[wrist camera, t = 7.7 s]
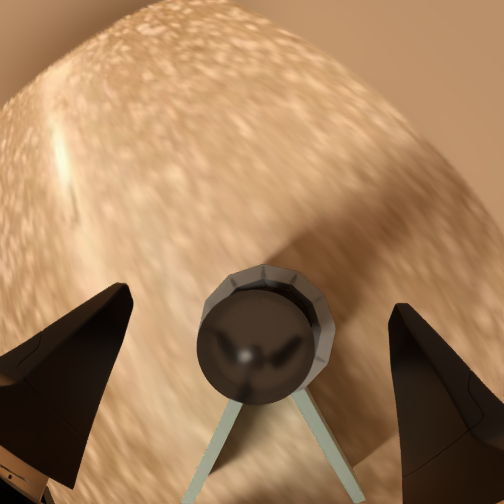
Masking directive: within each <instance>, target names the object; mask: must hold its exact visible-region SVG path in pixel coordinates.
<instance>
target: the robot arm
mask: <svg viewBox="0 0 504 504" xmlns="http://www.w3.org/2000/svg"><path fill="white" fill-rule="evenodd" d="M132 309H133V299H132V296H131V293H130V290H129V287H128V285H127V284H126V283H119V282H117V283H114V284H113V285H111V286H110V287H108V288H106V289H105V290H103V291H102V292H100V293H99V294H97V295H95V296H94V297H92V298H91V299H89V300H88V301H86V302H85V303H83V304H81V305H80V306H78V307H77V308H75V309H74V310H72V311H71V312H69V313H68V314H66V315H65V316H63V317H62V318H60V319H58V320H57V321H55V322H54V323H52V324H51V325H49V326H48V327H47V328H45V329H44V330H43V331H40V332H39V333H38V334H36V335H35V336H33V337H32V338H30V339H29V340H27V341H26V342H24V343H22V344H21V345H19V346H17V347H16V348H14V349H12V350H11V351H9V352H7V353H6V354H4V355H2V356H0V504H55V503H54V501H53V498H52V496H51V493H50V491H49V488H48V486H46V485H47V482H48V479H49V477H50V478H51V479H53V480H55V481H57V482H59V483H61V484H62V485H64V486H66V487H68V488H70V489H72V490H73V488H74V485H75V482H76V478H77V474H78V471H79V467H80V464H81V460H82V457H83V454H84V450H85V447H86V444H87V440H88V437H89V434H90V431H91V428H92V425H93V422H94V419H95V416H96V413H97V410H98V407H99V404H100V401H101V398H102V396H103V393H104V390H105V387H106V385H107V382H108V379H109V376H110V374H111V371H112V369H113V366H114V363H115V361H116V358H117V356H118V353H119V351H120V348H121V346H122V343H123V340H124V336H125V333H126V329H127V326H128V323H129V319H130V316H131V313H132ZM388 332H389V346H390V363H391V373H392V379H393V386H394V393H395V400H396V408H397V417H398V426H399V437H400V449H401V464H402V494H403V504H504V404H503V403H502V402H501V401H500V400H499V399H498V398H497V397H496V396H495V395H494V394H493V393H492V392H491V391H490V390H489V389H488V388H487V387H486V385H485V384H484V383H483V382H482V381H481V380H480V379H479V378H478V377H477V376H476V374H475V373H474V372H473V371H472V370H471V371H470V368H469V367H468V366H467V364H466V363H465V362H464V361H463V360H462V359H461V358H460V357H459V356H458V355H457V353H456V352H455V351H454V350H453V349H452V348H451V347H450V346H449V345H448V344H447V343H446V342H445V341H444V339H443V338H442V337H441V336H440V335H439V334H438V333H437V332H436V331H435V330H434V329H433V328H432V327H431V326H430V325H429V324H428V323H427V322H426V321H425V320H424V319H423V318H422V317H421V316H420V315H419V314H418V313H417V312H416V311H415V310H414V309H413V308H412V307H411V306H410V305H409V304H408V303H396V304H395V306H394V309H393V311H392V314H391V316H390V319H389V322H388Z"/></svg>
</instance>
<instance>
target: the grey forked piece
mask: <svg viewBox="0 0 504 504" xmlns="http://www.w3.org/2000/svg"><path fill="white" fill-rule="evenodd" d="M267 286H270V287H275V288H279V289H284V290H289V291H291V292H292V293H293V294H294V295H295V296H296V297H297V298H298V299H300V300H301V301H302V302H303V303H304V304H305V305H306V307H307V310H308V313H309V316H310V319H311V322H312V325H313V327H312V331H313V335H314V341H315V355H314V361H313V364H312V367H311V370H310V372H309V374H308V376H307V377H306V379H305V380H304V382H303V383H302V384H301V385H300V387H299V388H297V389H296V390H295V391H294V392H293V393H291V395H292V397H293V399H294V401H295V402H296V404H297V406H298V408H299V410H300V411H301V413H302V415H303V417H304V419H305V420H306V422H307V424H308V426H309V427H310V429H311V431H312V433H313V434H314V436H315V438H316V440H317V441H318V443H319V445H320V447H321V448H322V450H323V452H324V454H325V455H326V457H327V459H328V460H329V462H330V464H331V466H332V467H333V469H334V471H335V472H336V474H337V476H338V477H339V479H340V481H341V482H342V484H343V486H344V487H345V489H346V491H347V492H348V494H349V496H350V497H351V499H352V501H353V502H354V504H358V503H360V502H362V501H364V500H366V498H365V496H364V494H363V492H362V489H361V487H360V485H359V483H358V480H357V478H356V476H355V474H354V471H353V469H352V467H351V465H350V464H349V462H348V460H347V458H346V456H345V455H344V453H343V451H342V449H341V447H340V446H339V444H338V442H337V440H336V438H335V437H334V435H333V433H332V431H331V429H330V428H329V426H328V424H327V422H326V420H325V418H324V417H323V415H322V413H321V411H320V409H319V408H318V406H317V404H316V402H315V400H314V398H313V396H312V395H311V393H310V391H309V389H308V387H307V385H308V384H309V383H310V382H311V381H312V380H313V379H314V378H315V377H316V376H317V375H318V374H319V373H320V372H321V370H322V369H323V368H324V367H325V366H326V365H327V364H328V361H329V357H330V353H331V349H332V344H333V340H334V335H335V331H336V329H335V328H336V327H335V324H334V321H333V318H332V315H331V312H330V309H329V306H328V303H327V299H326V296H325V294H324V293H322V292H321V291H320V290H319V289H318V288H317V287H316V286H314V285H313V284H312V283H311V282H310V281H309V280H308V279H306V278H305V277H304V276H303V275H302V274H301V273H300V272H299V271H295V270H290V269H285V268H280V267H275V266H270V265H265V264H261V265H258V266H255V267H252V268H249V269H246V270H243V271H240V272H237V273H234V274H231V275H229V276H228V277H227V278H226V279H225V280H224V281H223V282H222V283H221V284H220V285H219V287H218V288H217V289H216V290H215V291H214V292H213V293H212V294H211V295H210V296H209V297H208V299H207V300H206V301H205V304H204V309H203V313H202V318H201V322H200V327H201V324H202V322H203V320H204V318H205V317H206V315H207V314H208V313H209V311H210V310H211V309H212V308H213V307H214V306H215V305H216V304H217V303H218V302H220V301H221V300H223V299H224V298H226V297H228V296H230V295H232V294H235V293H237V292H241V291H247V290H257V289H260V288H263V287H267ZM200 327H199V329H200ZM198 333H199V331H198ZM242 404H243V403H240V402H236V401H234V400H231V399H230V400H229V402H228V404H227V406H226V408H225V411H224V413H223V415H222V417H221V419H220V422H219V424H218V426H217V428H216V430H215V432H214V435H213V437H212V439H211V441H210V443H209V445H208V447H207V449H206V452H205V454H204V456H203V458H202V460H201V462H200V464H199V466H198V468H197V470H196V472H195V474H194V476H193V479H192V481H191V483H190V485H189V487H188V489H187V491H186V493H185V495H184V497H183V499H182V501H181V503H182V504H193V503H194V501H195V499H196V498H197V496H198V494H199V492H200V490H201V488H202V486H203V484H204V482H205V480H206V478H207V476H208V475H209V473H210V471H211V469H212V467H213V465H214V463H215V461H216V459H217V457H218V455H219V453H220V451H221V449H222V447H223V445H224V442H225V440H226V438H227V436H228V434H229V432H230V430H231V428H232V426H233V424H234V422H235V419H236V417H237V415H238V413H239V411H240V409H241V407H242Z"/></svg>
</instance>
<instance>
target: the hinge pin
mask: <svg viewBox="0 0 504 504" xmlns="http://www.w3.org/2000/svg"><path fill="white" fill-rule="evenodd" d="M314 355H315V341H314V335H313V331H312V328H311V326H310V323H309V322H308V320H307V318H306V316H305V315H304V314H303V312H302V311H301V310H300V309H299V308H298V307H297V306H296V305H295V304H294V303H292V302H291V301H290V300H288V299H287V298H285V297H283V296H281V295H279V294H276V293H273V292H269V291H264V290H247V291H241V292H237V293H235V294H232V295H230V296H228V297H226V298H224V299H223V300H221V301H220V302H218V303H217V304H216V305H215V306H214V307H213V308H212V309H211V310H210V311H209V313H208V314H207V315H206V317H205V318H204V320H203V322H202V324H201V327H200V329H199V333H198V338H197V357H198V361H199V365H200V367H201V370H202V372H203V374H204V375H205V377H206V379H207V380H208V381H209V383H210V384H211V385H212V386H213V387H214V388H215V389H216V390H217V391H218V392H220V393H221V394H222V395H224V396H226V397H227V398H229V399H231V400H234V401H236V402H240V403H243V404H249V405H263V404H269V403H273V402H276V401H279V400H281V399H283V398H285V397H287V396H289V395H290V394H291V393H293V392H294V391H295V390H296V389H297V388H299V387H300V385H301V384H302V383H303V382H304V380H305V379H306V377H307V376H308V374H309V372H310V370H311V367H312V364H313V361H314Z"/></svg>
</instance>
